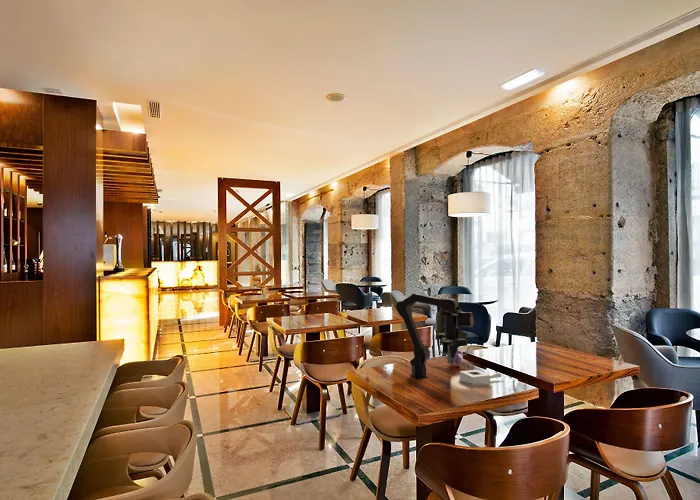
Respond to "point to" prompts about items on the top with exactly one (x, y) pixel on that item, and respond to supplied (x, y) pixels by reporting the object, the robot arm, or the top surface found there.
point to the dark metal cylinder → (449, 356)
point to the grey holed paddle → (476, 378)
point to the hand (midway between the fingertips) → (450, 357)
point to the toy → (457, 356)
